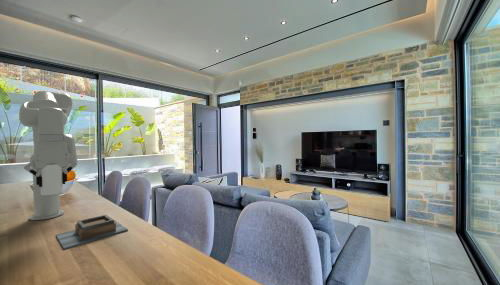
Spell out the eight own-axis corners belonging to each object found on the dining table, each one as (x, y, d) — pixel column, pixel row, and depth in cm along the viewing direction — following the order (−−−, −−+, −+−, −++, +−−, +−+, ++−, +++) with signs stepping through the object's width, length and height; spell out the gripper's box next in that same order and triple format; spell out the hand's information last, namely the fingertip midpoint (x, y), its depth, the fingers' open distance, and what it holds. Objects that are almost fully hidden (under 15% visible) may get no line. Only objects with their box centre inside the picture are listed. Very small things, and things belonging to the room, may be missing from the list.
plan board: (56, 236, 84) (55, 223, 84) (114, 221, 99) (114, 210, 99) (63, 249, 74) (63, 235, 74) (127, 230, 89) (127, 218, 89)
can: (49, 196, 82) (48, 164, 82) (36, 195, 84) (35, 164, 84) (67, 192, 89) (66, 162, 88) (54, 191, 90) (53, 162, 90)
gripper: (76, 139, 95) (77, 180, 95) (19, 139, 82) (20, 187, 82) (80, 139, 90) (81, 183, 90) (19, 139, 77) (20, 190, 77)
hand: (52, 184), depth 86 cm, fingers closed on can, 6 cm apart
